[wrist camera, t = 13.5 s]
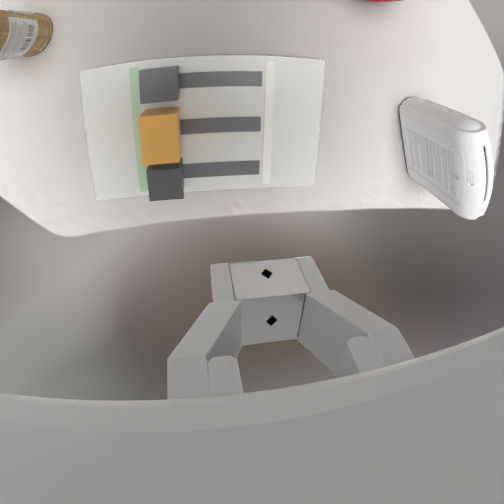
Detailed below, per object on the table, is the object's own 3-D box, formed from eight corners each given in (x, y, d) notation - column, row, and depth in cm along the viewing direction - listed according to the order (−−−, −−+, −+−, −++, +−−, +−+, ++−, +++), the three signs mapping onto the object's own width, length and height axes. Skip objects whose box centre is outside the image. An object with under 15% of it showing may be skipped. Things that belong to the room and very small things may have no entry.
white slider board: (319, 59, 27) (338, 61, 23) (309, 180, 34) (324, 199, 30) (84, 70, 23) (67, 73, 20) (100, 194, 31) (88, 215, 27)
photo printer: (432, 170, 36) (498, 219, 25) (406, 180, 36) (470, 234, 26) (422, 92, 30) (502, 122, 19) (393, 100, 30) (472, 133, 20)
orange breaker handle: (179, 106, 26) (177, 113, 23) (181, 148, 28) (179, 162, 25) (145, 109, 25) (138, 117, 22) (148, 151, 28) (142, 165, 24)
